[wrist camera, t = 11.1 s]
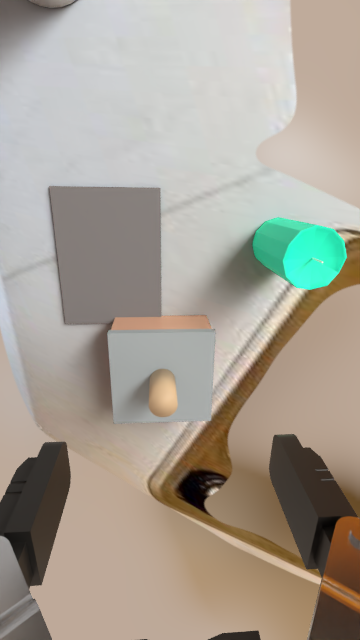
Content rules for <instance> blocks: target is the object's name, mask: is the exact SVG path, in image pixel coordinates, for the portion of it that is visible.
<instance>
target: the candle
mask: <svg viewBox="0 0 360 640" xmlns="http://www.w3.org/2000/svg"><path fill="white" fill-rule="evenodd" d="M252 246H253V251H254V255H255V257H256V258H257V259H258V260H259V261H260V262H261V263H262V264H263V265H264V266H265V267H267V268H268V269H270V270H271V271H273V272H274V273H276V274H277V275H279V276H280V277H282V278H283V279H285V280H286V281H288V282H289V283H291V284H292V285H293V286H295V287H297V288H303V289H309V290H311V289H315V288H319V287H323V286H327V285H328V284H329V283H330V282H331V281H332V280H333V279H334V278H335V276H336V275H337V274H338V273H339V271H340V269H341V268H342V266H343V264H344V262H345V260H346V258H347V255H346V249H345V243H344V240H343V239H342V238H341V237H340V236H339V235H338V233H337V232H336V231H335V230H334V229H331V228H327V227H323V226H319V225H314V224H309V223H304V222H299V221H294V220H289V219H284V218H279V217H277V218H274V219H271V220H268V221H265V222H264V223H263V224H262V226H261V227H260V228H259V229H258V230H257V231H256V233H255V236H254V240H253V243H252Z"/></svg>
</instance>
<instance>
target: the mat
mask: <svg viewBox="0 0 360 640" xmlns="http://www.w3.org/2000/svg"><path fill="white" fill-rule="evenodd" d="M49 189H50V197H51V206H52V214H53V223H54V232H55V240H56V249H57V257H58V266H59V274H60V283H61V291H62V300H63V308H64V317H65V324H104V323H113V322H114V319H115V317H161V213H160V188H126V187H60V186H49Z"/></svg>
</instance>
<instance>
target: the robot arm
mask: <svg viewBox="0 0 360 640" xmlns="http://www.w3.org/2000/svg"><path fill="white" fill-rule="evenodd" d="M28 1H30V2H32V3H35V4H37V5H39V6H43V7H49V8H56V7H63V6H66V5H68V4H71V3H73V2H74V1H75V0H28ZM269 470H270V477H271V481H272V484H273V487H274V488H275V491H276V494H277V496H278V499H279V502H280V504H281V506H282V509H283V511H284V514H285V516H286V519H287V521H288V524H289V527H290V529H291V531H292V534H293V537H294V539H295V542H296V544H297V547H298V549H299V552H300V554H301V557H302V559H303V562H304V564H305V567H306V569H318V570H319V572H320V574H321V577H322V580H321V584H320V588H319V592H318V597H317V601H316V605H315V609H314V613H313V617H312V621H311V625H310V630H309V634H308V638H307V640H360V518H358V516H357V515H356V513H355V511H354V510H353V508H352V507H351V505H350V503H349V502H348V500H347V499H346V497H345V495H344V494H343V492H342V490H341V489H340V487H339V486H338V484H337V483H336V481H334V478H333V476H332V475H331V473H330V471H328V468H327V466H326V465H325V463H324V462H323V460H322V458H321V457H320V456H318V454H316V453H315V452H314V451H313V450H312V449H311V448H303V447H302V446H301V444H300V442H299V440H298V439H297V437H296V436H295V435H294V434H286V435H274V437H273V443H272V450H271V458H270V464H269ZM70 477H71V476H70V466H69V458H68V451H67V445H66V442H45V443H44V444H43V446H42V448H41V450H40V452H39V455H38V457H35V458H28V459H27V460H25V462H23V464H22V465H21V466H19V468H17V470H16V472H15V474H14V476H13V478H12V480H11V483H10V484H9V486H8V488H7V490H6V493H5V495H4V496H3V498H2V500H1V502H0V640H52V638H51V636H50V633H49V631H48V628H47V626H46V624H45V621H44V619H43V616H42V614H41V611H40V609H39V607H38V604H37V602H36V600H35V599H33V598H32V596H31V593H30V591H29V588H30V586H35V585H42V582H43V578H44V575H45V571H46V568H47V565H48V561H49V558H50V554H51V551H52V547H53V544H54V540H55V537H56V533H57V530H58V526H59V523H60V520H61V516H62V513H63V509H64V506H65V502H66V499H67V495H68V492H69V488H70ZM142 640H143V639H142ZM144 640H147V639H144ZM208 640H260V635H259V631H247V632H233V633H222V634H220V635H218V636H215V637H213V638H211V639H208Z"/></svg>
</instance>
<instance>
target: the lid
mask: <svg viewBox="0 0 360 640" xmlns="http://www.w3.org/2000/svg"><path fill="white" fill-rule="evenodd" d="M215 335H216V332H215V329H154V330H108V333H107V336H108V350H109V364H110V379H111V393H112V407H113V421H114V424H122V423H153V422H184V421H211V408H212V390H213V372H214V353H215Z"/></svg>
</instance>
